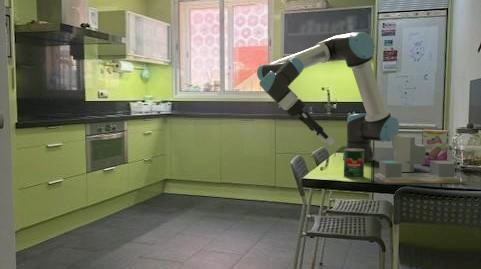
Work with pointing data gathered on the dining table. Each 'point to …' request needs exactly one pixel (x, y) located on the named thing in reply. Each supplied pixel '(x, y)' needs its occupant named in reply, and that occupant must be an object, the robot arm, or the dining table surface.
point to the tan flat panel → (415, 176)
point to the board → (422, 181)
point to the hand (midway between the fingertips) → (329, 142)
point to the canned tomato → (353, 163)
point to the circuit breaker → (408, 152)
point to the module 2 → (442, 168)
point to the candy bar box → (436, 145)
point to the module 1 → (390, 168)
